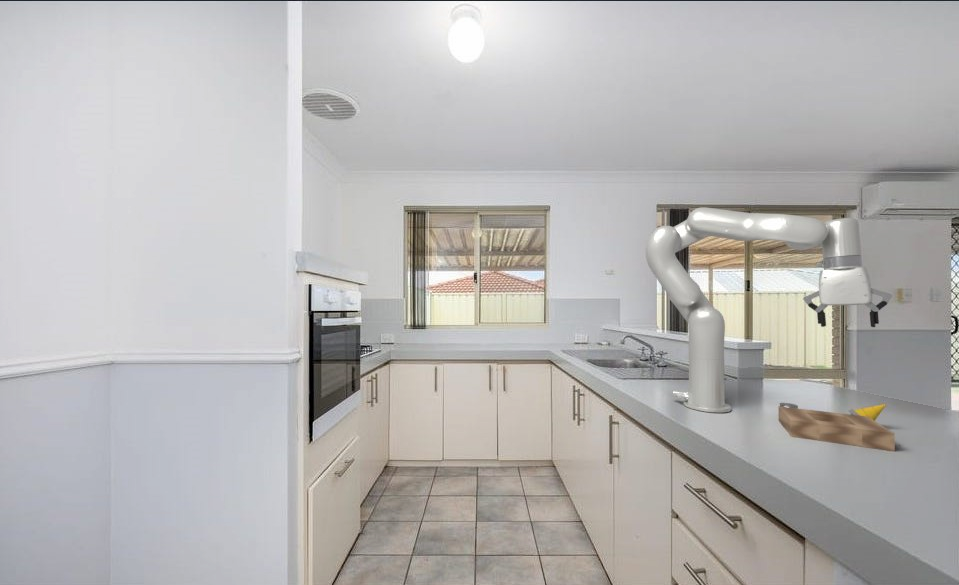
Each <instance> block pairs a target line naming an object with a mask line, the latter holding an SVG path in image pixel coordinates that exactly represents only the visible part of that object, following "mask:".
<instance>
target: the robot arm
mask: <svg viewBox="0 0 959 585" xmlns="http://www.w3.org/2000/svg"><path fill="white" fill-rule="evenodd" d="M859 225H860V224H859V221H858V220H857V219H856V218H853V217H842V218H835V219H830V220H827V221H823V220H821V219H818V218H814V217H809V216H802V215H793V214H786V213H785V214H784V213H761V212H759V213H758V212H754V213H753V212H747V211H746V212H745V211H744V212H743V211H736V210H730V209H729V210H728V209H720V208H714V207H713V208H712V207H705V206H704V207H701V206H700V207H697V208H695V209H693V210H692V211H691V212H690V213H689V215H688V216H687V219H685V220H684V221H682V222H680V223H678V224H677V225H674V226H671V225H661V226H659V227H657V228H656V229H654V231H653V232H652V233H651V235H650V237H649V238H648V240H647V243H646V246H645V258H646V262H647V265H648V267H649V269H650V270H651V272H652V274H653V275H654V277H655V278H656V280H657V281H658V282H659V284H660V286H661V287H662V289H663V290H664V291H665V293H666V294H667V296H668V298H669V300H670V301H671V303H672V304H673V305H674V306H675V308H676V309H677V311H678V312H679V314H680V315H681V316H682V317H683V319H684V320H685V321H686V323H687V324H688V328H687V329H688V388H687V390H684V391H680V390H673V392H672V394H673V397H674V398H677V399H678V398H679V399H684V400H683V405H684V406H685V407H687V408H689V409H692V410H695V411H700V412H706V413H713V414H714V413H715V414H716V413H717V414H718V413H721V414H724V413H729V412H730V411H731V410H732V407H731V405H730V404H728V403H725V401H726V400H725V333H726V332H725V331H726V322H725V319H724V316H723V313H721V311H719V310H718V309H716V308H715V306H714V305H713V304H712V303H711V302H710V300H709V299H708V297H707V296H706V295H705V293H703V291H702V290H701V287H700V285H699V284H698V283H697V282H696V280H694V279H693V278H692V277H691V276H690V274H689V273H688V271H686V269H685V268H684V266H683V265H682V264H681V262H680V260H678V258H677V256H676V253H678V252H680V251H682V250H683V249H686V248H687V247H690V246H692V245H693V244H696V243H697V242H699V241H701V240H704V239H705V238H706V237H714V238H715V237H717V238H722V239H726V240H727V239H728V240H733V241H738V242H739V241H740V242H751V241H752V242H753V241H757V240H758V241H759V240H762V241H763V240H764V241H765V240H766V241H777V242H783V243H785V245H786V246H787V247H788V248H790V249H792V250H794V251H795V250H796V251H806V250H810V249H811V250H812V249H816V248H817V249H818V248H822V260H820V261H817V262H816V267H820V268H822V270H819V276H818V290H817V291H815V292H813V293H811V294H808V295H806V296H804V297H803V299H802V300H803V301H804V302H805V303H806V305H807V306H808V307H809V308H811V309H812V310H813V311H815V313H816V314H817V316H816V318H817V324H818V325H820V327H821V328H823V327H827V320H826V312H825V311H824V310H826V308H827V307H828V306H857V305H858V306H859V305H861V306H862V305H863V306H865V307H867V308H868V309H870V311H869V322H870V323H869V324H870V327H871V328H876V325H879V324H880V321H879V311H881V310H882V309H883V308H884V307H886V306H887V305H888V304H889V302H890V300H891V299H892V298H893V294H892V293H889V292H886V291H882V290H879V289H876V288H873V287H872V285H871V280H870V279H871V278H870V275H869V271H868V268H867V266H865V267H864V266H863V260H862V259H863V258H862V249H861V237H860V235H861V234H860V226H859ZM873 295H876V296H879V297H882V300H881V301H880V302H879V303H877V304H874V303H873V302H872V301H873ZM817 297H818V300H819V303H820V304H819V305H817V304H815V303H814V302H813V300H812V299H815V298H817Z"/></svg>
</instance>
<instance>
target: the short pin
mask: <svg viewBox="0 0 959 585" xmlns="http://www.w3.org/2000/svg"><path fill="white" fill-rule="evenodd" d="M779 406H780V407H789V408H797V409H799V406H798V404H796V403H789V402H780V403H779Z"/></svg>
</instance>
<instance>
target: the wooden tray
mask: <svg viewBox="0 0 959 585" xmlns="http://www.w3.org/2000/svg"><path fill="white" fill-rule="evenodd" d="M850 414H851V413H850ZM850 414H847V413H840V412H830V411H824V410H823V411H821V410H814V409H805V408H798V409H797V408H789V407H780V405H779V406H778V422H779V424H781V426H782V428H784V430H785V431H786V432H787V433H788V435H790V438H791V437H792V438H800V439H806V440H813V441H822V442H827V443H834V444H839V445H840V444H841V445H849V446H856V447H863V448H869V449H876V450H884V451H889V452H890V451H891V452H895V450H896V449H895V448H896V446H895V442H896V441H895V432H893V431H891V430H890V429H888V428H887V427H885V426H883V425H882V424H880V423H878V422H877V421H876V420H875V421H874V420H872V419H871V418H869V417H867V416H859V415H850Z"/></svg>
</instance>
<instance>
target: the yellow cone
mask: <svg viewBox="0 0 959 585" xmlns="http://www.w3.org/2000/svg"><path fill="white" fill-rule="evenodd" d="M886 406H887V404H879V405H874V406H868V407H863V408H857V409H853V408H851V409H850V410H848V412H849V413H850V415H859V416H867V417H869V418H871V419H872V420H874V421H875V422H876V420H877V419H878V417H879V416H880V414H881V413H882V411H883V410H884V408H885V407H886Z"/></svg>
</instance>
